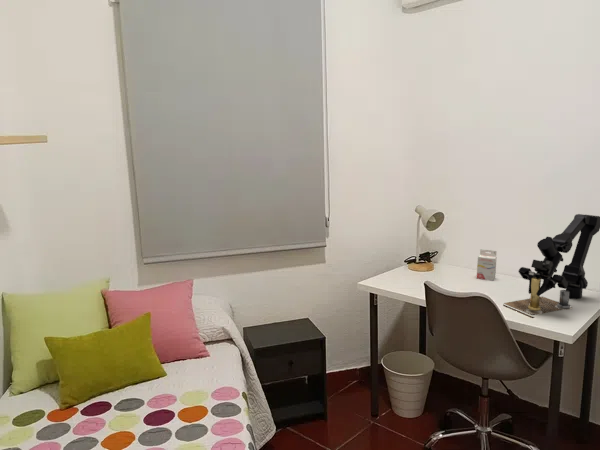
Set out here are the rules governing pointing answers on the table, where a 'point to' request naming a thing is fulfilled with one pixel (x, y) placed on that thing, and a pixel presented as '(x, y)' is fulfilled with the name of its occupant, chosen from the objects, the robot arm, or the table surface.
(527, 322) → the table surface
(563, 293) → the fixed pin
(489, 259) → the ink cartridge box
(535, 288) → the brass pin
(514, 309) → the brown flat sheet
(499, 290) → the table surface
